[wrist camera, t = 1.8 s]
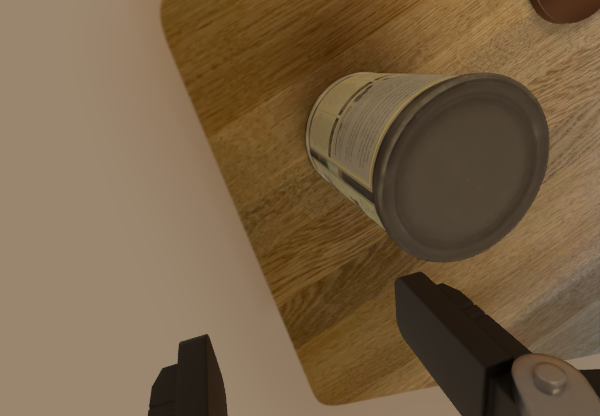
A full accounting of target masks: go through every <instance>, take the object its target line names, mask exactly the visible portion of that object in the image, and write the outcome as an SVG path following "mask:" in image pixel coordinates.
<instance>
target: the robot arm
mask: <svg viewBox="0 0 600 416" xmlns="http://www.w3.org/2000/svg"><path fill="white" fill-rule="evenodd" d="M395 300H396V318H397V324H398V327H399V330H400V332H401V335H402V336H403V338H404V340H405V341H406V342H407V344H408V345H409V346H410V348H411V349H412V350H413V352H414V353H415V354H416V356H417V357H418V358H419V360H420V361H421V362H422V364H423V365H424V366H425V368H426V369H427V370H428V372H429V373H430V374H431V376H432V377H433V378H434V380H435V381H436V382H437V384H438V385H439V386H440V388H441V389H442V390H443V392H444V393H445V394H446V396H447V397H448V398H449V399H450V401H451V402H452V403H453V405H454V406H455V407H456V409H457V410H458V411H459V413H460V414H461V415H462V416H600V369H594V370H577V369H576V368H575V367H574V366H572V365H571V364H569V363H567V362H565V361H563V360H561V359H559V358H556V357H554V356H550V355H546V354H539V353H532V352H530V351H529V350H528V349H527V348H526V347H525V346H523V345H522V344H521V343H520V342H519V341H518V340H516V339H515V338H514V337H513V336H512V335H511V334H509V333H508V332H507V331H506V330H505V329H504V328H502V327H501V326H500V325H499V324H498V323H497V322H495V321H494V320H493V319H492V318H491V317H490V316H488V315H485V313H484V311H483V310H481V309H480V308H479V307H478V306H477V305H474V304H473V302H472V301H471V300H470V299H469V298H467V297H466V296H465V295H464V294H463V293H462V292H460V291H459V290H457V289H454V288H452V287H450V286H448V285H445V284H443V283H441V284H438V285H436V284H435V283H433V282H432V281H431V280H430V279H429V278H428V277H427V276H426V275H425V274H424V273H422V272H417V273H413V274H410V275H407V276H403V277H400V278H397V279H396V280H395ZM149 407H150V410H149V411H148V416H228V415H227V404H226V394H225V388H224V383H223V378H222V375H221V372H220V368H219V365H218V362H217V359H216V356H215V353H214V350H213V347H212V344H211V341H210V338H209V336H208V335H207V334H206V335H202V336H199V337H195V338H192V339H189V340H186V341H182V342H180V343H179V350H178V364H175V365H172V366H168V367H165V368H162V370H161V372H160V374H159V376H158V377H157V379H156V381H155V383H154V384H153V386H152V390H151V397H150V404H149Z"/></svg>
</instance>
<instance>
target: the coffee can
mask: <svg viewBox="0 0 600 416" xmlns="http://www.w3.org/2000/svg"><path fill="white" fill-rule="evenodd" d="M306 146H307V151H308V155H309V158H310V160H311V162H312V165H313V166H314V167H315V169H316V170H317V172H318V173H319V174H320V175H321V176H322V177H323V178H324V179H326V180H327V181H328V182H330V183H331V184H333V185H334V186H335V187H336V188H337V189H338V190H339V191H341V192H342V193H343V194H344V195H345V196H346V197H348V198H349V199H350V200H351V201H352V202H353V203H354V204H356V205H357V206H358V207H359V208H360V209H361V210H362V211H364V212H365V213H366V214H367V215H368V216H369V217H370V218H372V219H373V220H374V221H375V222H376V223H377V224H379V225H380V226H381V227H382V228H383V229H384V230H385V231H386V232H387V233H388V235H389V236H390V237H391V238H392V239H393V240H394V241H395V242H396V243H397V244H398V246H400V247H401V248H402V249H403V250H404V251H406V252H407V253H408V254H410V255H412V256H414V257H416V258H418V259H421V260H425V261H430V262H455V261H461V260H464V259H467V258H470V257H473V256H475V255H478V254H479V253H481V252H483V251H485V250H487V249H488V248H490V247H491V246H493V245H494V244H496V243H497V242H499V241H500V240H501V239H502V238H503V237H505V236H506V235H507V234H508V233H509V232H510V231H511V230H512V229H513V228H514V227H515V226H516V225H517V224H518V223H519V221H520V220H521V219H522V218H523V216H524V215H525V214H526V212H527V211H528V209H529V208H530V206H531V205H532V203H533V201H534V199H535V197H536V195H537V193H538V191H539V189H540V186H541V184H542V181H543V179H544V175H545V172H546V168H547V163H548V157H549V130H548V125H547V121H546V118H545V115H544V113H543V110H542V108H541V106H540V104H539V102H538V100H537V99H536V98H535V96H534V95H533V94H532V93H531V91H530V90H528V89H527V88H526V87H525V86H524V85H522V84H521V83H519V82H518V81H516V80H514V79H512V78H510V77H507V76H504V75H499V74H494V73H472V74H465V75H433V74H389V73H374V72H359V73H354V74H350V75H347V76H345V77H342V78H340V79H338V80H337V81H335V82H334V83H332V84H331V85H330V86H329V87H328V88H327V89H326V90H325V91H324V92H323V93H322V94H321V95H320V97H319V98H318V99H317V101H316V103H315V104H314V106H313V108H312V110H311V113H310V116H309V119H308V122H307V129H306Z"/></svg>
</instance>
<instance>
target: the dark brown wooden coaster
mask: <svg viewBox="0 0 600 416" xmlns="http://www.w3.org/2000/svg"><path fill="white" fill-rule="evenodd" d="M530 1H531V3H532V5H533V7H534V9H535V10H536V12H537V13H538V14H539V15H540V16H541V17H542V18H544V19H545V20H547V21H549V22H551V23H556V24H567V23H574V22H578V21H581V20H584V19H586V18H588V17H589V16H591V15H592V14H594V13H595V12H596V11H598V10H599V9H600V0H530Z"/></svg>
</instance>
